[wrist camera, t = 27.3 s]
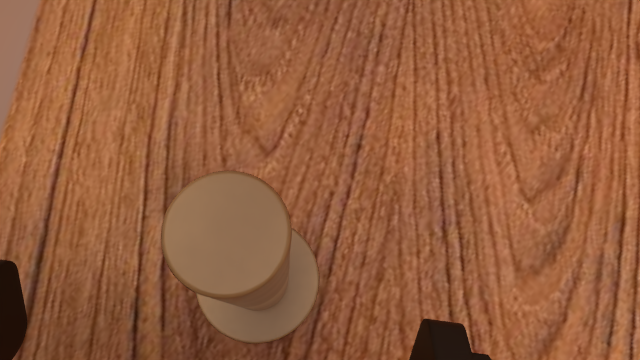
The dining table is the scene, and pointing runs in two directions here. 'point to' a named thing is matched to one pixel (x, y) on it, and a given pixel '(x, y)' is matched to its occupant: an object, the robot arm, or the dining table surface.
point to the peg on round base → (240, 256)
